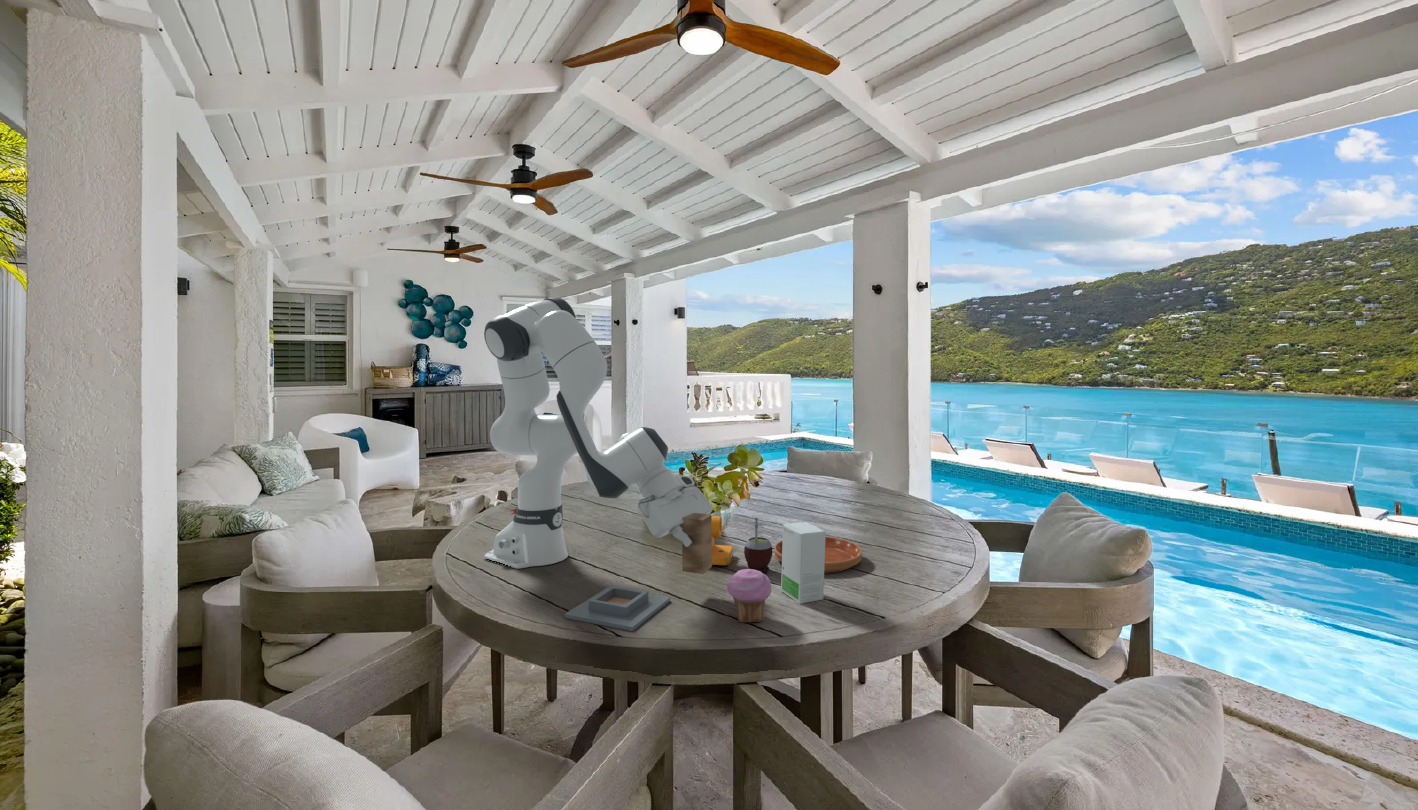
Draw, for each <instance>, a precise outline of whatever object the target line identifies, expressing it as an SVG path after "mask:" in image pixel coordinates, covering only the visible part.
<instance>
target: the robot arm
mask: <svg viewBox="0 0 1418 810" xmlns="http://www.w3.org/2000/svg"><path fill="white" fill-rule="evenodd" d="M576 317H577V316H576V313H575V312H574V310H573V307H572V306H571V305H570V304H569V303H568V301H566V300H565V299H564V298H561V297H548V298H544V299H543V300H540V301H538V300H537V301H534V302H530V303H526V304H523V305H521V306H520V307H518V308H516V309H513V310H511V311H508V312H506V313H505V314H503V315H501V314H500V315H497V316H495V317H493V318H492V319H491V320H489V321H488V322H487V323H486V324H485V327H484V332H483V335H484V336H483V337H484V341H485V344H486V346H487V347H486V348H488V350H489V352H491V354H492V355H493V356H494V358H496V362H497V368H498V373H499V376H500V381H501V385H502V389H503V393H504V400H505V401H504V403H505V404H504V408H503V410H502V413H501V415H500V416H498V417H497V419H496V420H494V422H493V423H492V426H490V427H491V428H490V431H489V438H490V439H489V440H490V443H491V445H492V447H493V448H494V449H495V450H496V451H497V452H499V453H503V454H507V455H511V456H536V458H537V460H536V463H535V466H534V467H532V468H531V469H530V468H529V469H528V470H527V471H524V473H522V474H521V476H519V479H518V481H517V504H518V505H517V507H516V508H513V509H511V510H510V512H511V513H509V515H510V516H511V515H513V518H512V521H511V522H510V523H508V524H507V526H505V527H504V528H503V529H501V530H500V531H499V532H498V533H497V534H496V535H495V537H494V541H493V548H492V550H490V551H487V552H486V553H485V554H484V555H483V556H484V557H485V558H487V559H490V560H492V561H497V562H500V563H503V564H505V565H504V566H506V565H508V566H507V567H510V566H511V567H510V568H513V569H525V568H529V567H541V566H547V565H552V564H555V563H559V562H562V561H564V560H565V559H567V558H568V557H569V553H568V551H567V546H566V543H565V542H566V541H565V538H564V537H565V535H564V532H563V531H564V529H563V518H564V514H563V513H564V511H563V510H564V509H563V504H562V499H561V498H562V497H561V496H562V495H561V494H562V492H561V491H562V477H563V473H564V471H565V468H566V466H567V464H568V463H569V462H570V460H571V459H572V458H573V457H574V456H575V455H576V454H578V456H579V457H580V459H581V461H582V465H583V467H584V472H585V476H586V480H587V481H588V484H589V486H590V488H591V489H592V490H593V491H594V493H595V494H596V495H598V497H600V498H603V499H618V498H619V497H620V496H622V495H623V494H624V493H625V492H626V491H627V490H629V488H630V487H632V486H633V485H636V487H637V489H638V492H639V494H640V496H641V497H642V499H639V501H638V505H637V508H638V510H639V512H641V513H640V514H641V516H642V517H641V518H643V519H642V520H643V521H644V522H645V525H646V527H647V528H648V530H649V532H650V533H651V534H652V536H654V537H655V538H657V539H659V538H663V537H665V536H667V535H669V534H671V535H672V536H673V537H674V538H675V539H677V540H679V542H681V543H682V542H683V544H684V545H685V546H686V547H688V546H690V545H692V544H693V543H694V539H693V538H692V537H691V535H689V536H688V535H687V534H685V533H684V532H683V531H682V530H683V529H682V524H683V523H684V521H683V519H682V518H683V517H685V516H687V515H690V514H692V513H700V514H710V515H711V513H712V511H713V506H712V504H711V502H710V501H709V499H708V498H707V497H706V496H705V495H704V493H703V491H701V490H700V489H699V487H697V486H694V485H695V481H694V479H693V478H692V477H690V476H682V475H678V474H675V473H673V471H672V470H671V469H670V468H669V467H667V466H666V465H665V463H664V462H666V460H667V455H668V452H669V448H668V445H667V444H666V442H665V441H664V440H663V439H662V437H661V436H660V435H659V433H658V432H657V431H656V429H655V428H650V427H646V426H641V427H639V428H637V429H635V430H631V431H628V432H626V433H624V434H622V435H620V437H618V439H616V441H615V443H614V444H613V445H611V446H609V448H607V449H605V450H603V451H599V450H598V448H597V447H596V445H595V442H594V440H593V438H592V435H591V433H590V431H589V428H588V426H587V424H586V422H585V417H584V415H585V411H586V408H587V406H588V405H589V404H590V402H591V400H592V399H593V398H594V396H595V395H596V394H597V392H598V391H599V390H600V388H601V387H602V386H603V383H604V381H605V379H606V377H607V374H608V363H607V359H606V358H605V356H604V353H603V352H602V350H601V348H600V346H599V344H597V342H596V341H595V340H594V338H593V337H592V336H591V334H590V333H589V332H588V330H587V329H586V328H585V327H584V326H583V324H582V323H581V322H579V320H578V319H577V318H576ZM543 355H544V357H545V358H546V359H547V362H548V363H549V365H550V367H551V368H552V369H553V371H554V373H555V375H556V377H557V379H558V383H559V391H558V392H557V394H556V402H557V405H558V406H557V407H558V409H559V411H560V414H538V413H536V409H535V408H537V407H540V406H541V405H542V404H543V403H544V402H546V401H547V400H548V397H549V395H550V391H551V388H550V383H549V378H548V375H547V370H546V365H545V362H544V357H543ZM484 557H483V558H484ZM492 561H491V562H492ZM503 564H502V565H503Z"/></svg>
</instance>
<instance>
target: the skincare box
mask: <svg viewBox="0 0 1418 810" xmlns="http://www.w3.org/2000/svg"><path fill="white" fill-rule="evenodd" d="M826 534H827V533H826V530H823V529H822V528H819V527H818V526H817V525H814V524H811V523H809V522H807V521H801V522H800V521H798V522H792V523H784V524H783V523H782V540H783V541H782V540H781V541H782V562H781V575H780V576H781V580H780V582H781V583H780V585H781V586H780V591H781V592H782V593H783V594H786V596H787V597H789V598H791V599H792V600H794V601H795V602H796V603H797V604H799V605H802V604H807V603H812V602H818V601H822V600H824V592H825V591H824V586H825V585H824V584H825V583H824V582H825V573H824V563H825V537H827V535H826Z"/></svg>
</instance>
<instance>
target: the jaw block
mask: <svg viewBox="0 0 1418 810" xmlns="http://www.w3.org/2000/svg"><path fill="white" fill-rule="evenodd" d="M711 516H712V514H711V513H710V514H700V513H692V514H690V515H687V516H685V517H683V518H682V519H683V521H684V523H683V524H682V529H683V530H682V531H683V532H684V533H685V534H687V535H688V536H689V535H691V537H692V538H693V539H694V543H693V544H692V545H690V546H688V547H686V546H685V545H684V544H683V542H682V541H681V550H682V551H681V552H682V555H681V556H682V557H681V559H682V560H681V561H682V564H681V566H682V568H681V569H682V572H686V573H687V572H688V573H693V574H699V575H704V574H705V573H706V572H707V571H709V570H710V569H711V568H712V566H713V565H712V517H711Z"/></svg>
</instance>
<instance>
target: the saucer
mask: <svg viewBox="0 0 1418 810" xmlns="http://www.w3.org/2000/svg"><path fill="white" fill-rule="evenodd" d="M782 541H783V539H782V540H780V541H778V542H777V543H775V545H774V551H773V554H774V556H775V559H777V560H778V561H780V562H781V563H782ZM862 560H863V550H862V548H861V547H860V546H859V545H858V544H856V543H854V542H852V541H849V540H846V539H843V538H842V539H841V538H837V537H832V536H825V563H824V574H825V573H838V572H843V571H846V570H848V569H851V568H852V567H854V566H856V565H858V564H859V563H860V562H861V561H862Z"/></svg>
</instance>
